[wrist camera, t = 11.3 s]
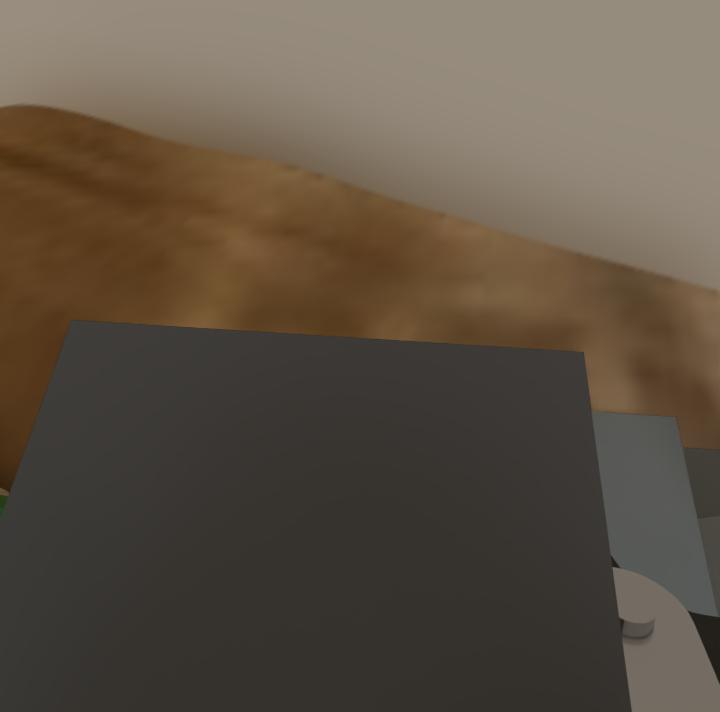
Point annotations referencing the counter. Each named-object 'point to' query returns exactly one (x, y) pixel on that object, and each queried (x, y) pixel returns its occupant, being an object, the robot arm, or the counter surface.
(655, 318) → the counter surface
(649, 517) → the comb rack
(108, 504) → the grey-topped teal block
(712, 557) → the ivory plug
